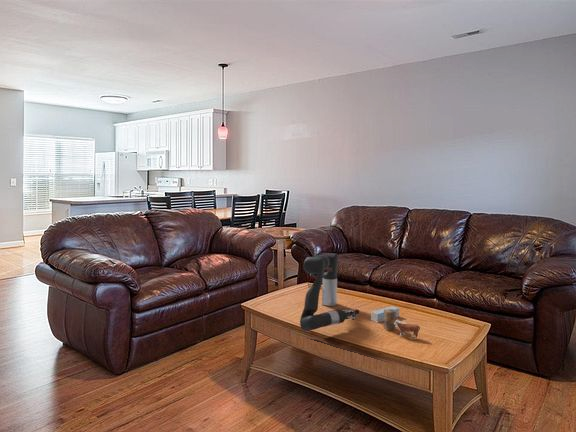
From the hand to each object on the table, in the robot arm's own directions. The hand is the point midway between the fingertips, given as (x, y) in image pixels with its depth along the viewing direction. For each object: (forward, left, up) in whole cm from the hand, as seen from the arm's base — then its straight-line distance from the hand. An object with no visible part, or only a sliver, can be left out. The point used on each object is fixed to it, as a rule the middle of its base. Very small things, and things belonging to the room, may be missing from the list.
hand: (358, 311), depth 230 cm
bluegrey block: (+9, +9, -6) cm, 14 cm away
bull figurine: (+25, -11, -8) cm, 29 cm away
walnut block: (+17, -1, -8) cm, 19 cm away
